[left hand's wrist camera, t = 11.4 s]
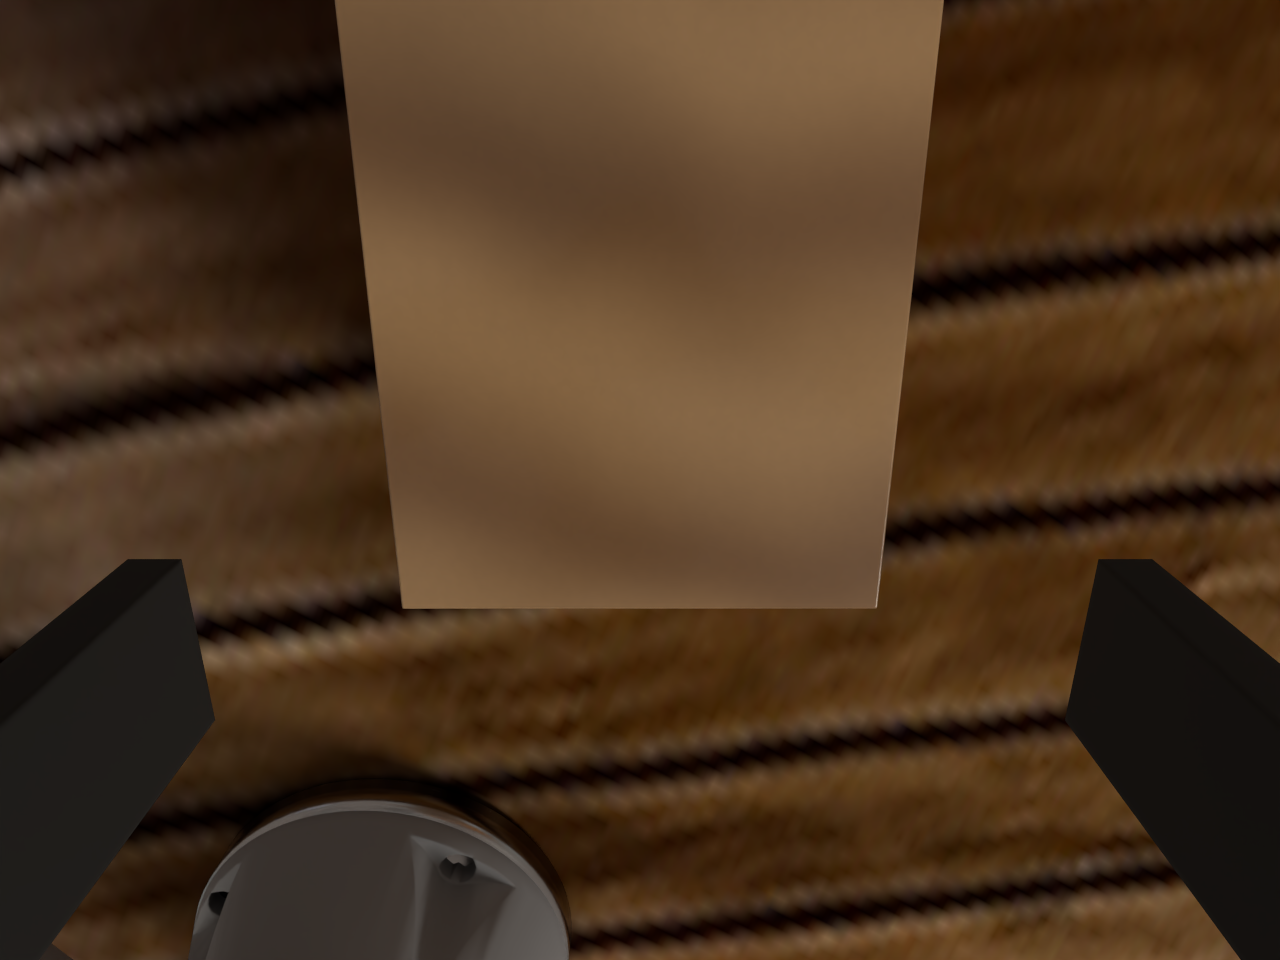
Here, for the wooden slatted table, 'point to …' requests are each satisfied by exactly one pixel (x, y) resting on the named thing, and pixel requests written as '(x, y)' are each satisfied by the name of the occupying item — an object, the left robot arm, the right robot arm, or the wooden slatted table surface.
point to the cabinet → (639, 291)
